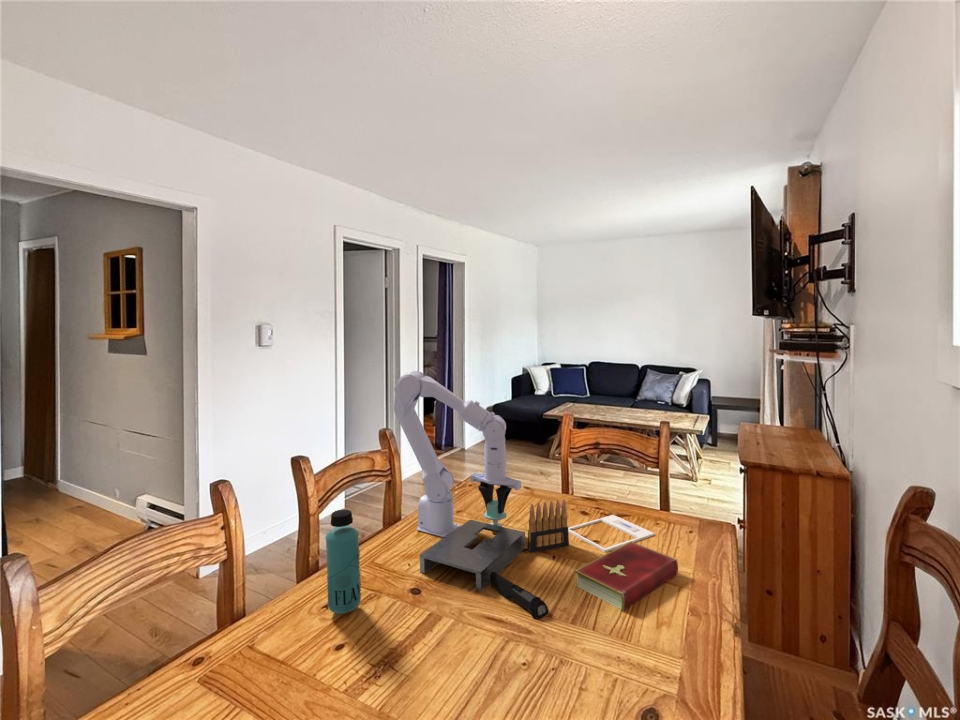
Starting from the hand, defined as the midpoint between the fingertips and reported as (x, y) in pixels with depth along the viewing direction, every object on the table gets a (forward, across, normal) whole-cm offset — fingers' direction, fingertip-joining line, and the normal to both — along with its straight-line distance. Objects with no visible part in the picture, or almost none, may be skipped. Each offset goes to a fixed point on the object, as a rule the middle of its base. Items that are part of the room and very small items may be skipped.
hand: (495, 511), depth 128 cm
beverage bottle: (+6, +9, +46) cm, 47 cm away
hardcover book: (+6, -37, +8) cm, 38 cm away
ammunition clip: (+6, -16, +2) cm, 17 cm away
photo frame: (+6, -27, -14) cm, 31 cm away
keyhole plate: (+6, -3, +16) cm, 17 cm away
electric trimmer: (+6, -19, +26) cm, 33 cm away
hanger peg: (+4, 0, 0) cm, 4 cm away
